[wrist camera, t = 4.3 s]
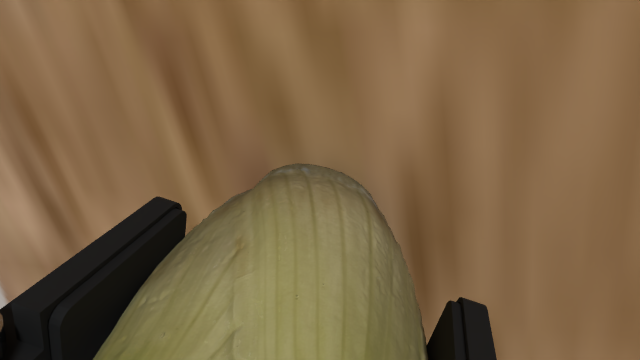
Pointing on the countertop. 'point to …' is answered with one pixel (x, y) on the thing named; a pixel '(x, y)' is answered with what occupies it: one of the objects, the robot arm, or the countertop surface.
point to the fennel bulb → (279, 281)
